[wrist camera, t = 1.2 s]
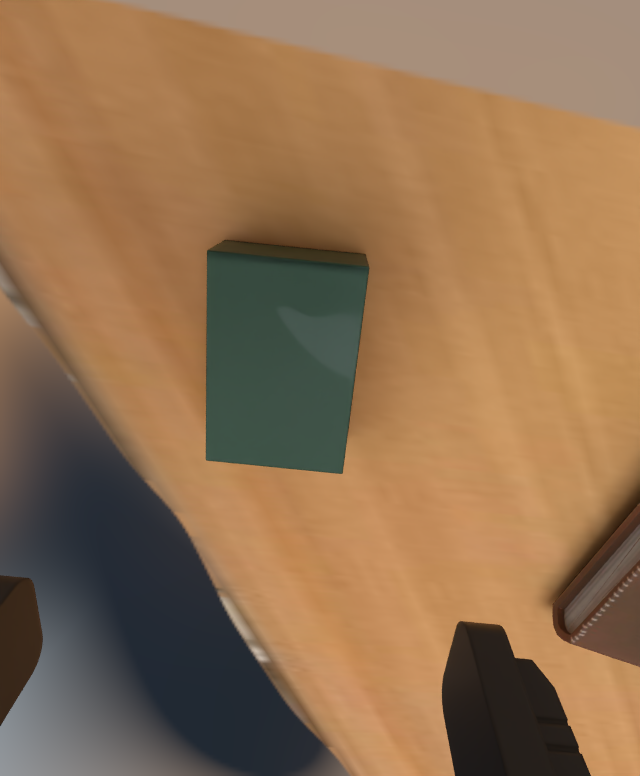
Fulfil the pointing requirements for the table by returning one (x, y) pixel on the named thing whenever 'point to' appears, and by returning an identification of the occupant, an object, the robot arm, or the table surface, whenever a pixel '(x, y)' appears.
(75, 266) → the table surface
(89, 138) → the table surface
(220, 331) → the notebook
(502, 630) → the robot arm
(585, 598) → the book
